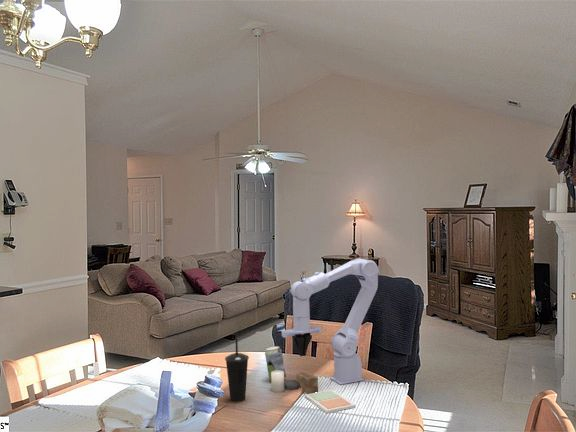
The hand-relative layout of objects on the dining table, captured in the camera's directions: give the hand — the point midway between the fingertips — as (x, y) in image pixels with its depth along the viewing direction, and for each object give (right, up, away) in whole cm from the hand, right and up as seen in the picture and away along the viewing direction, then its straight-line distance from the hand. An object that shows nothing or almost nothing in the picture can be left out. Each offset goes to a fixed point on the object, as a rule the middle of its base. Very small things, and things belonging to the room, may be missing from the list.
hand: (302, 355), depth 176 cm
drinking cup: (-21, -11, -12) cm, 27 cm away
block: (+2, -11, -6) cm, 12 cm away
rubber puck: (-4, -11, -2) cm, 12 cm away
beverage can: (-9, -11, +6) cm, 15 cm away
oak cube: (+1, -11, 0) cm, 11 cm away
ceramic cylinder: (-8, -11, -4) cm, 14 cm away
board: (+8, -10, -16) cm, 21 cm away
